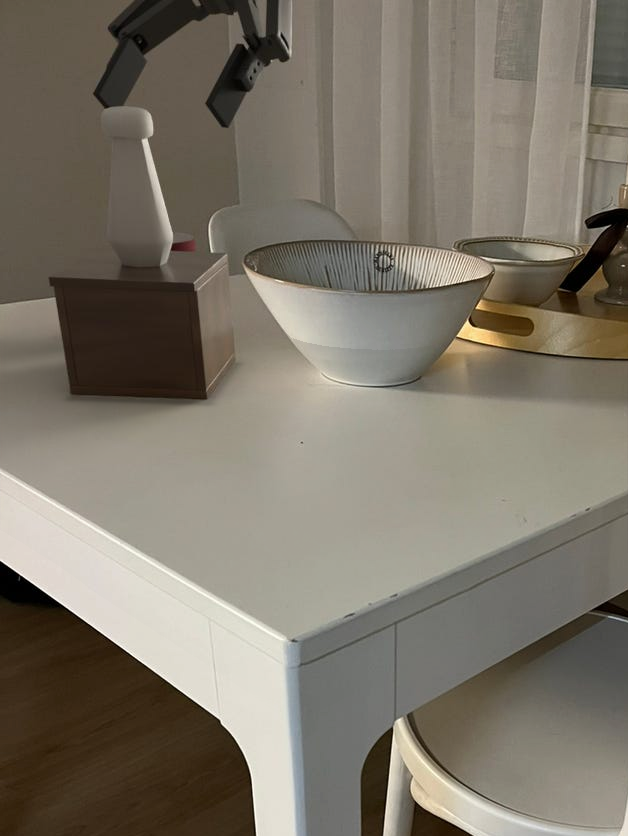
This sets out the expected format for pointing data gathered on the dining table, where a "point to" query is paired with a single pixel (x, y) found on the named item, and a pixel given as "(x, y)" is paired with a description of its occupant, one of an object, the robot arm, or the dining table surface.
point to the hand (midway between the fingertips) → (159, 111)
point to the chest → (147, 339)
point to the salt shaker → (135, 191)
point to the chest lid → (140, 272)
